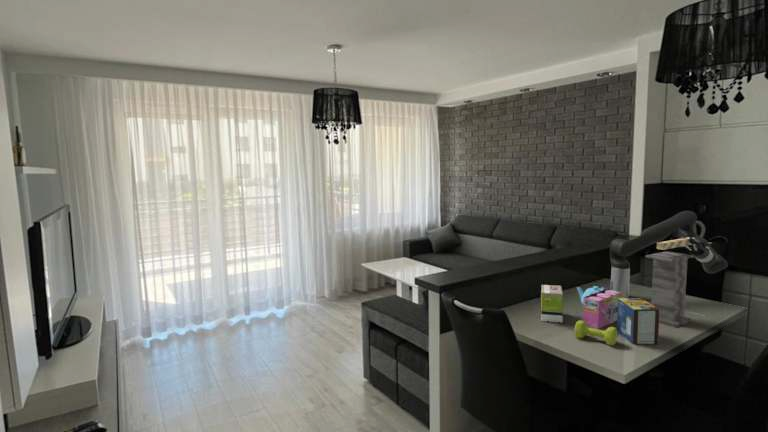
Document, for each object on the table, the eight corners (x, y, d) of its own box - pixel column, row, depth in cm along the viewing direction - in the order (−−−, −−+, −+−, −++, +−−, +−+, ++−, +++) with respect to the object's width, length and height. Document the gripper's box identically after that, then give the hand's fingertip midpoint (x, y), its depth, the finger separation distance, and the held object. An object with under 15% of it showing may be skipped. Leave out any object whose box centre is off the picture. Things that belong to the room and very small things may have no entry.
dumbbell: (572, 338, 187) (573, 322, 186) (578, 333, 193) (579, 317, 192) (613, 348, 176) (614, 331, 175) (618, 342, 182) (619, 326, 181)
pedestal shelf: (670, 328, 195) (674, 260, 192) (640, 319, 207) (643, 255, 204) (692, 321, 203) (696, 255, 200) (661, 312, 216) (664, 250, 212)
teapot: (575, 301, 237) (575, 282, 236) (603, 301, 236) (603, 282, 235) (585, 310, 222) (586, 290, 221) (615, 310, 221) (616, 290, 219)
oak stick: (663, 249, 196) (663, 243, 196) (656, 248, 199) (656, 242, 199) (694, 243, 209) (695, 237, 209) (688, 243, 212) (688, 237, 211)
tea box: (540, 311, 222) (541, 283, 220) (561, 313, 219) (562, 285, 217) (540, 321, 208) (541, 292, 206) (563, 323, 205) (563, 293, 203)
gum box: (607, 313, 217) (608, 287, 215) (623, 317, 210) (624, 291, 209) (582, 324, 203) (582, 296, 201) (598, 329, 196) (599, 300, 195)
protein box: (640, 331, 193) (641, 297, 192) (658, 345, 178) (660, 309, 176) (616, 330, 194) (617, 297, 193) (632, 344, 179) (633, 308, 177)
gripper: (688, 243, 222) (673, 229, 214) (719, 248, 209) (704, 233, 202) (683, 256, 221) (668, 243, 213) (714, 261, 208) (699, 247, 201)
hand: (685, 238), depth 207 cm, fingers closed on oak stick, 3 cm apart
